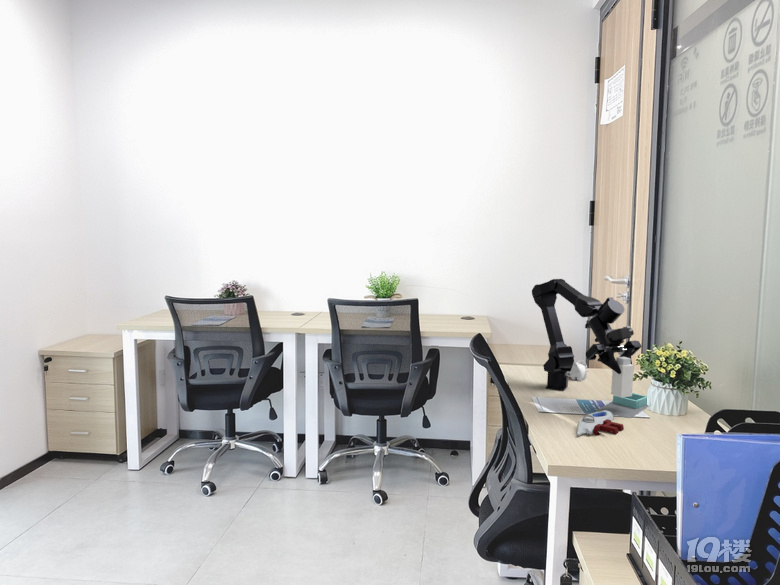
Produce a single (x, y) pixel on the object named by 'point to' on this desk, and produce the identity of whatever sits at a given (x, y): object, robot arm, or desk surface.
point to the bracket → (608, 427)
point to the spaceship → (592, 422)
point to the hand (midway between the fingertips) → (626, 372)
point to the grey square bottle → (623, 378)
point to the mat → (622, 410)
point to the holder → (631, 400)
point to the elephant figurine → (578, 371)
